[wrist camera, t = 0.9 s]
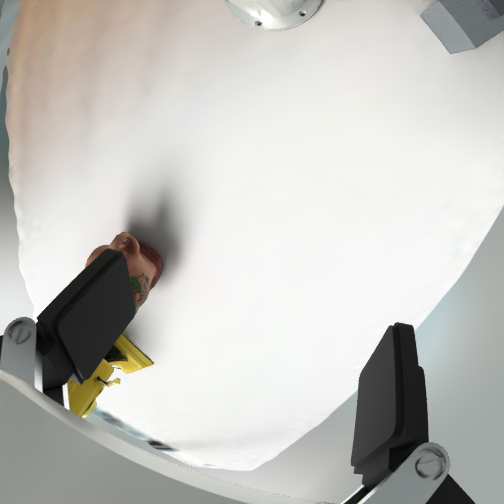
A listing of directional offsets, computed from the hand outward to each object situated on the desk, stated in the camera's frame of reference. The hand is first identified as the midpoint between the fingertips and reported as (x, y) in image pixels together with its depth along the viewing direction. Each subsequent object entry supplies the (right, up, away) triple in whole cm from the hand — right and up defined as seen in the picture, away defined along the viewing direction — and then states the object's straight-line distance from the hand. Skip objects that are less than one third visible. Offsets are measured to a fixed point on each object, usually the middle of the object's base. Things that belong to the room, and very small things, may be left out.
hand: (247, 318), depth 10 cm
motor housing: (+27, +32, +11) cm, 43 cm away
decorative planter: (-20, +2, +45) cm, 50 cm away
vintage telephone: (-37, -26, +68) cm, 82 cm away
